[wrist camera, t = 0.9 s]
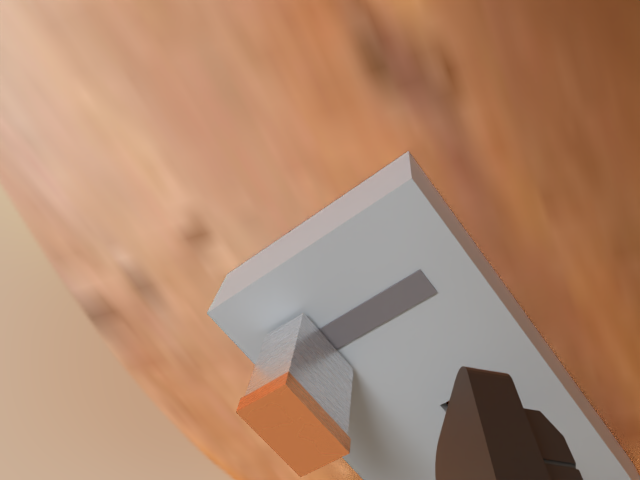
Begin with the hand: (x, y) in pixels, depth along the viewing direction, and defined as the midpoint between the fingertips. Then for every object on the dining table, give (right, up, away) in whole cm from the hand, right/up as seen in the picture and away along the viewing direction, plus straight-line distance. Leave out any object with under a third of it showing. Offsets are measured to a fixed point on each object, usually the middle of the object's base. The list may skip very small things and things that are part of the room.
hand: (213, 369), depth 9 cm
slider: (+1, -3, +18) cm, 19 cm away
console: (+9, -6, +23) cm, 25 cm away
